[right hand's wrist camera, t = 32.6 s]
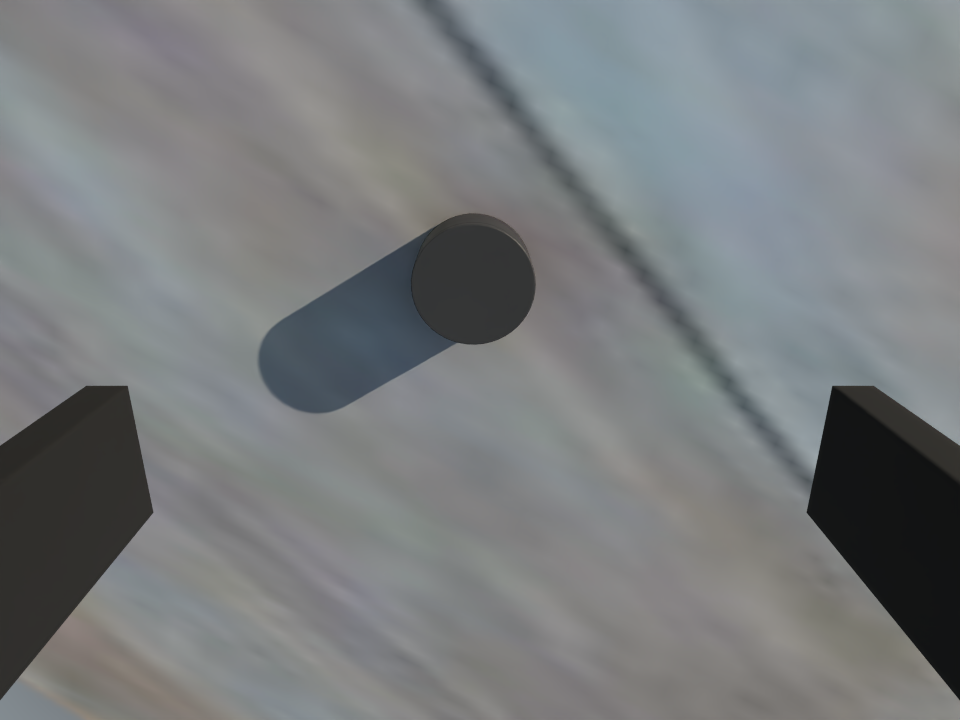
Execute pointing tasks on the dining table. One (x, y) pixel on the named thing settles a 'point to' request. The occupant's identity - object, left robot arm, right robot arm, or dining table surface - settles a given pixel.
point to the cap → (473, 279)
